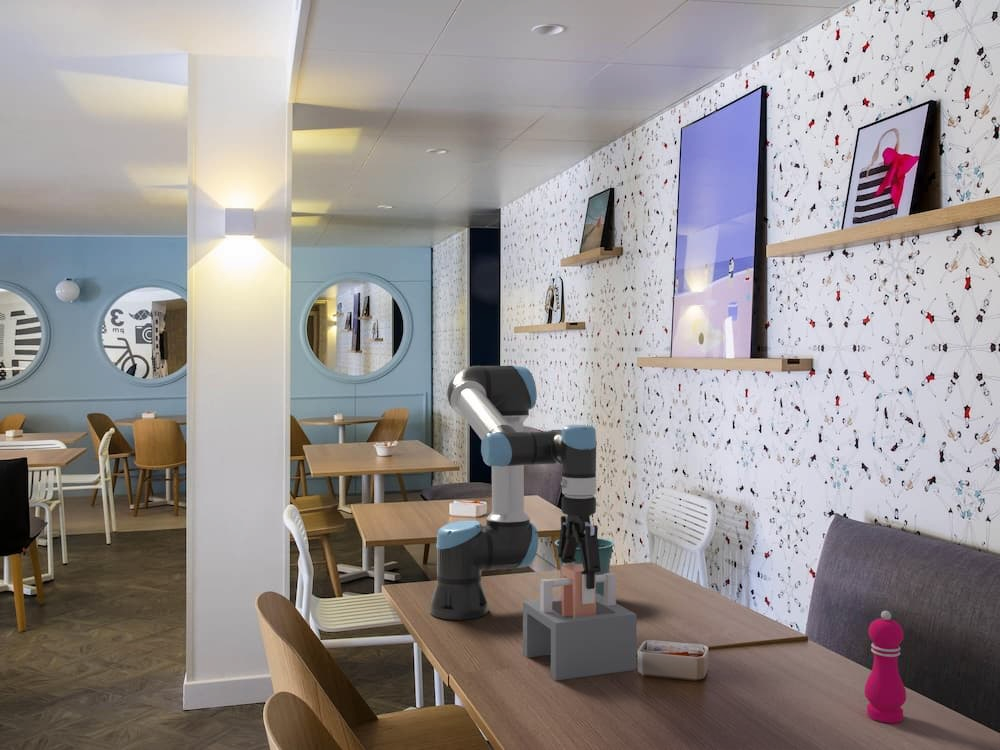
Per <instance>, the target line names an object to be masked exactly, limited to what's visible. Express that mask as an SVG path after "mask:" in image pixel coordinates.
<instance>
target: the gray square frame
mask: <svg viewBox="0 0 1000 750" xmlns="http://www.w3.org/2000/svg"><path fill="white" fill-rule="evenodd" d="M597 582H604V596H602V595H600V594H596V615H592V616H583V617H574V618H573V615H571V616H563V615H562V596H561V597H553V588H554V587H561V586H566V585H573V580H571V579H569V578H561V577H560V578H553V579H552V578H551V579H550V578H541V579H539V599H534V600H533V599H532V600H523V601H522V655H523V656H524V657H526V658H534V657H535V658H536V657H542V656H550V677H551V679H552V680H555V682H557V681H562V680H569V679H571V680H572V679H579V678H584V677H593V676H599V675H600V676H601V675H608V674H615V673H622V672H629V671H635V670H637V623H638V622H637V616H638V615H637V613H635V612H633V611H631V610H629V609H627V608H625V607H624V606H622V605H620V604H618V603H617V574H615V573H614V572H609V573H604V574H603V575H596V583H597Z"/></svg>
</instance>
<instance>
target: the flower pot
mask: <svg viewBox="0 0 1000 750" xmlns="http://www.w3.org/2000/svg"><path fill="white" fill-rule="evenodd" d="M597 538H598V548H599V558H600V568H601V571H600V572H597V573H596V575H603V574H604V573H610V566H611V559H612V556H613V555H612V553H613V547H614V546H615V542H614V541H613V540H610V539H608V538H607V539H606V538H601V537H597ZM559 540H560V539H558V540H556V541H554V546H556V551H557V552H556V554H557V555H558V549H559ZM562 552H563V551H562ZM557 558H558V562H559V572H560V573H559V575H560V576H561V566H563V562H562V561H561V558H559V557H558V556H557ZM574 558H575V559H576V561H573V562H574V563H575V564H583V563H582V558H581V553H580V548H579V544H578V543H577V547H576V551H575V555H574ZM571 563H572V562H571ZM596 594H600V595H602V596H604V582H597V583H596Z"/></svg>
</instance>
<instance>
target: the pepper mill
mask: <svg viewBox="0 0 1000 750" xmlns="http://www.w3.org/2000/svg"><path fill="white" fill-rule="evenodd" d="M880 617H881V618H876V619H875V620H872V622H870V625H869V626H868V637H869V638H870V640H871V641H872V643H871V653H873V664H872V669H871V671H870V673H869V676H868V677H867V679H866V682H865V684H864V685H865V686H864V697H865V698H866V700H868V702H869V703H868V704H867V705H866V714H867V717H868V718H869V719H871V718H872V719H871V720H873V719H874V721H875V720H877V721H876V722H879V721H881V722H880V723H883V722H886V723H885V724H899V723H901V722H903V720H904V709H903V708H902V706H903V705H904V704H905V703H906V701H907V691H906V687H905V685H904V683H903V681H902V678H901V676H900V673H899V672H900V671H899V666H898V658H899V657H898V656H900V655H901V652H900V651H901V647H900V644H901V643H902V641H904V630H903V628H902V626H901V625H900V624H899V622H897V621H895V620H893V619H892V614H891V611H888V610H883V611H882V612H881V614H880ZM898 722H899V723H898Z"/></svg>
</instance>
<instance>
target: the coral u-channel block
mask: <svg viewBox="0 0 1000 750" xmlns="http://www.w3.org/2000/svg"><path fill="white" fill-rule="evenodd" d="M582 571H584V568H583V564H574V565H563V566H561V575H560V579H561V578H569V579H571V580H573V585H566V586H560V587H561V597H562V615H563V616H571V615H573V618H574V617H583V616H592V615H596V573H595V603H588V604H583V603H582V573H581V572H582Z"/></svg>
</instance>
